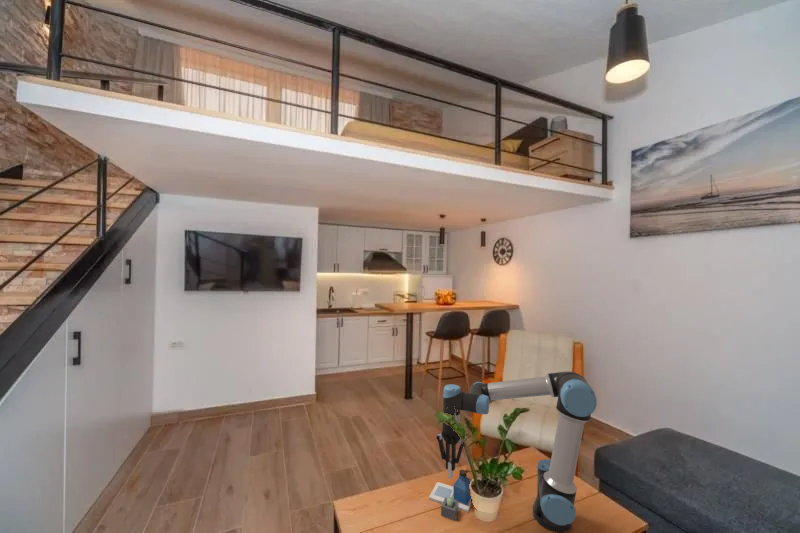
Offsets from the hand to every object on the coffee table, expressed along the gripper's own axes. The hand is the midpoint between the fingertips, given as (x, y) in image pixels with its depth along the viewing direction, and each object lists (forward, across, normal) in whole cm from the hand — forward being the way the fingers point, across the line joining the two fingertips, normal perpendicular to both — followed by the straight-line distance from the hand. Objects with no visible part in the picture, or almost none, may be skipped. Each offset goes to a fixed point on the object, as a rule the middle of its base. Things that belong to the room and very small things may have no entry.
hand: (450, 476), depth 137 cm
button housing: (+16, 0, 0) cm, 16 cm away
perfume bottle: (+15, -3, -10) cm, 18 cm away
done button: (+13, 0, 0) cm, 14 cm away
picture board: (+16, +2, -10) cm, 19 cm away
